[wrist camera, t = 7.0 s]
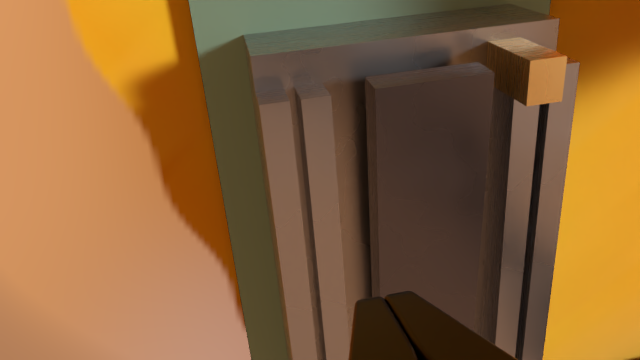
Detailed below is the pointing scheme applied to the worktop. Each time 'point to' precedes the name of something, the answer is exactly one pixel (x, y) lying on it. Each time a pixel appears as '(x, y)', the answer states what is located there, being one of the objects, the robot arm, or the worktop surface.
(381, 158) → the dark brown flat bar
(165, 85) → the worktop surface
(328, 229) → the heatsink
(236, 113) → the board
